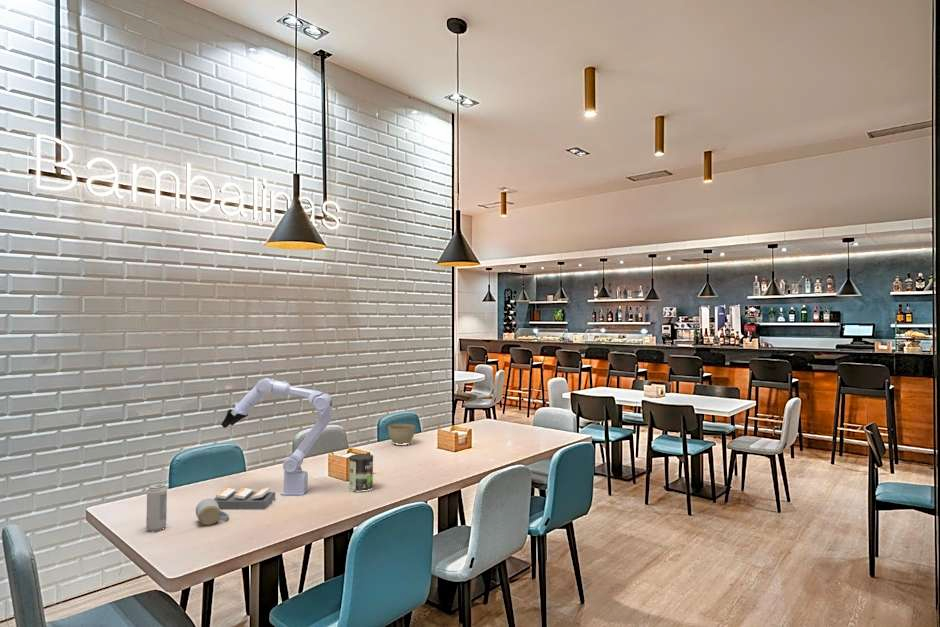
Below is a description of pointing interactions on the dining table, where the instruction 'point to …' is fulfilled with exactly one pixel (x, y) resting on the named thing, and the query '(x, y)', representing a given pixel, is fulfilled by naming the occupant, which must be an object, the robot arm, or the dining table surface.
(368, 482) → the coffee can
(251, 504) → the switch panel
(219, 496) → the rocker
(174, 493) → the dining table surface
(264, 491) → the rocker
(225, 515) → the ceramic mug
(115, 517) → the dining table surface
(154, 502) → the energy drink can
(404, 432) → the planter bowl
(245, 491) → the rocker middle
